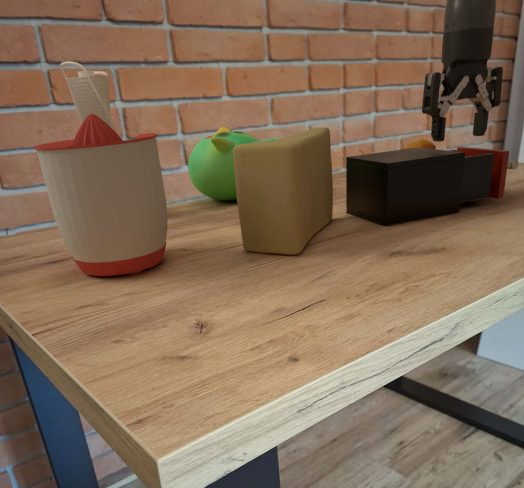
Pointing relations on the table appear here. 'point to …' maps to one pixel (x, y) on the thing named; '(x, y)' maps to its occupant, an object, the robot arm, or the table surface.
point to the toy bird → (217, 163)
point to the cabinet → (404, 185)
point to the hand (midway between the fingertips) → (458, 138)
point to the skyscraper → (90, 94)
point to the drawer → (484, 173)
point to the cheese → (284, 191)
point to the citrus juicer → (107, 198)
